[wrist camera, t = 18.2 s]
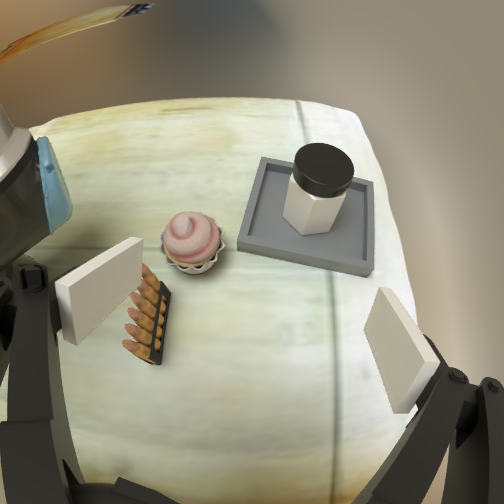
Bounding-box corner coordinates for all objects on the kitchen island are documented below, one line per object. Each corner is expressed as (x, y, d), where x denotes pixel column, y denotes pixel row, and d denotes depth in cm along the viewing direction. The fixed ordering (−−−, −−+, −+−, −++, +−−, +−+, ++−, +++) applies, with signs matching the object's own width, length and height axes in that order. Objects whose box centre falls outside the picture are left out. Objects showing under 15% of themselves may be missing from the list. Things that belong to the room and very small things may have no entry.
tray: (237, 250, 45) (237, 240, 42) (260, 168, 53) (261, 156, 50) (366, 277, 44) (373, 269, 41) (367, 192, 52) (373, 182, 49)
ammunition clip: (161, 365, 37) (130, 352, 26) (148, 363, 37) (113, 349, 26) (171, 292, 42) (147, 255, 31) (159, 291, 42) (132, 254, 31)
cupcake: (219, 290, 42) (213, 259, 33) (159, 278, 43) (139, 246, 34) (232, 234, 46) (231, 194, 38) (176, 225, 47) (163, 185, 38)
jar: (326, 244, 45) (349, 197, 34) (276, 227, 46) (286, 176, 35) (337, 201, 49) (358, 152, 38) (292, 186, 50) (303, 134, 39)
